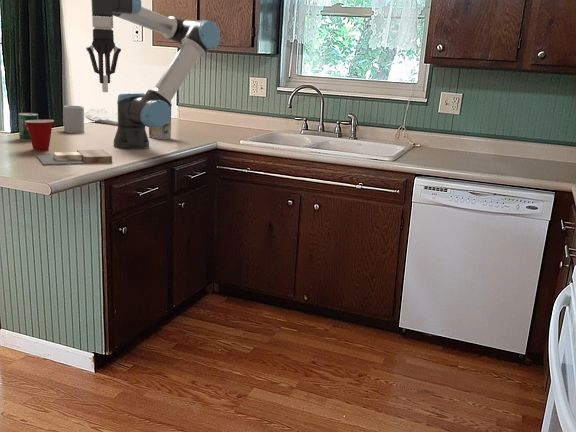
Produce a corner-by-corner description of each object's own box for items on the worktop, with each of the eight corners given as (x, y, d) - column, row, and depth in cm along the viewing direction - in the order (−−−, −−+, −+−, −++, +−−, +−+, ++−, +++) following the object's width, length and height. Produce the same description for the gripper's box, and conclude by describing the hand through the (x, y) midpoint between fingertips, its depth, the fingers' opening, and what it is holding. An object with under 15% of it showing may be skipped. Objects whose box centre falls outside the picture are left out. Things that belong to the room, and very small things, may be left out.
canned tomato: (32, 141, 258) (30, 115, 255) (15, 139, 260) (14, 113, 257) (42, 139, 266) (41, 114, 263) (26, 137, 267) (25, 112, 264)
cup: (80, 133, 288) (79, 108, 285) (61, 132, 288) (60, 106, 285) (86, 130, 297) (86, 106, 294) (68, 129, 297) (67, 105, 294)
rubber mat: (75, 156, 235) (75, 154, 235) (83, 164, 222) (83, 162, 222) (36, 156, 228) (36, 155, 228) (43, 165, 215) (43, 163, 215)
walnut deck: (103, 155, 239) (103, 149, 239) (112, 162, 228) (112, 156, 227) (77, 156, 234) (77, 150, 234) (84, 163, 223) (84, 156, 222)
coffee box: (171, 138, 294) (172, 105, 289) (163, 139, 288) (163, 106, 284) (156, 136, 297) (157, 103, 293) (148, 137, 292) (148, 103, 288)
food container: (95, 114, 339) (92, 105, 335) (137, 123, 327) (135, 114, 324) (82, 124, 331) (78, 115, 328) (124, 134, 320) (121, 124, 316)
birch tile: (78, 157, 231) (78, 152, 230) (81, 160, 226) (81, 154, 225) (53, 157, 226) (53, 152, 226) (56, 160, 221) (56, 155, 221)
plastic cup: (42, 146, 250) (41, 117, 246) (60, 149, 245) (59, 120, 242) (19, 148, 240) (18, 118, 237) (38, 152, 236) (37, 122, 232)
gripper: (117, 29, 234) (119, 90, 241) (83, 27, 227) (85, 90, 234) (122, 29, 228) (124, 92, 235) (87, 28, 221) (90, 93, 228)
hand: (105, 91), depth 235 cm, fingers closed
